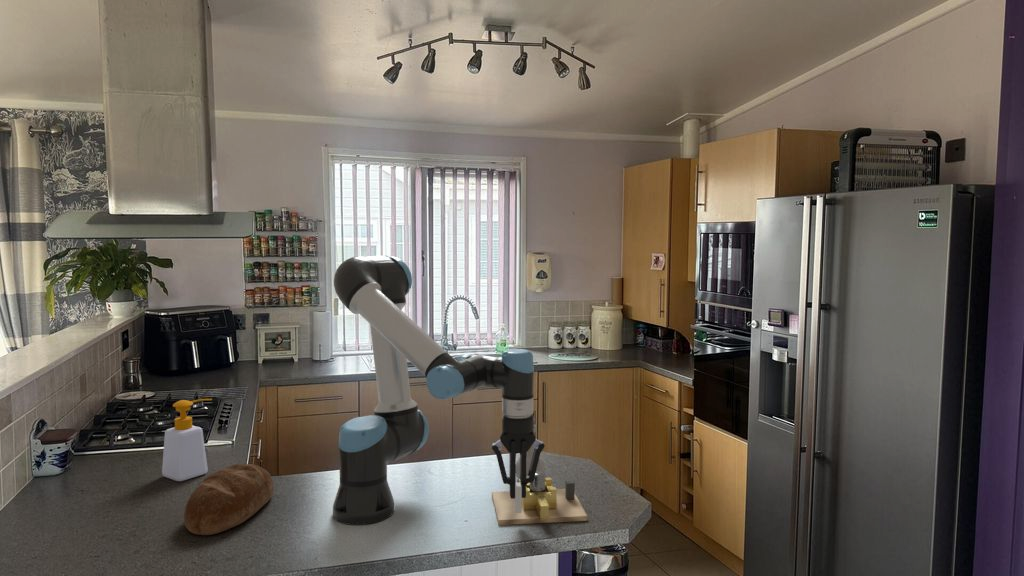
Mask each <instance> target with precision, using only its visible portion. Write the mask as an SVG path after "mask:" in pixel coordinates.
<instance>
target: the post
mask: <svg viewBox="0 0 1024 576" xmlns="http://www.w3.org/2000/svg"><path fill="white" fill-rule="evenodd" d="M545 478H546V472H545V473H544V472H542V471H536V473H535V477H534V481H533V482H532V483H530V493H537V492H545Z"/></svg>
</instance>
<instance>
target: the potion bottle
mask: <svg viewBox="0 0 1024 576" xmlns="http://www.w3.org/2000/svg"><path fill="white" fill-rule="evenodd" d="M535 418H536V417H535ZM535 418H534V422H535V421H536V419H535ZM536 431H537V425H536V424H534V434H535V433H536ZM534 449H535V448H534V443H533V445H532V446H531V447H530V449H529V450H528V451H527V458H526V476H528V472H529V468H530V464H531V460H532V456H533V452H534ZM536 471H542V472H544V473H545V474H546V466H545V462H544V459H543V458H542V457H541V455H540V457H539V461H538V465H537V469H536ZM517 478H518V480H517V481H518V482H519V479H520V455H519V456H518V457H517V459H516V479H517Z"/></svg>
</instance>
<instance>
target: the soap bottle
mask: <svg viewBox="0 0 1024 576" xmlns="http://www.w3.org/2000/svg"><path fill="white" fill-rule="evenodd" d="M212 400H213V398H199V399H195V400H189V399H188V400H186V399H180V400H178V401H176V402H174V403H173V404H172V407H173V408H175V411H176V412H179V414H180V415H179V417H176V418H174V427H171V428H167V429H166V430H165V431H164V438H163V439H164V440H163V441H164V442H163V453H162V467H161V474H162V476H163V478H164V477H165V478H167V479H170V480H172V481H176V482H185V481H186V480H190V479H192V478H196V477H199V476H202V475H205V474H206V473H208V471H209V468H208V461H207V454H206V446H205V440H204V431H203V428H202V427H200V426H198V425H197V426H195V425H193V417H192V416H187V411H190V410H191V406H193V405H194V403H197V402H202V401H212Z"/></svg>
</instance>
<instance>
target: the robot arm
mask: <svg viewBox="0 0 1024 576" xmlns="http://www.w3.org/2000/svg"><path fill="white" fill-rule="evenodd" d="M333 286H334V292H335V294H336V296H337V297H338V299H339V301H340V302H341V303H342V304H343V305H344V307H345V308H346V309H348V311H350V313H352V314H353V315H360V316H361V317H362V318H363V319H364V320H365V321H366V322H367V323H368V324H369V328H370V335H371V343H372V344H371V345H372V346H371V347H372V353H373V354H372V355H373V361H374V369H375V370H374V371H375V379H376V380H375V381H376V387H377V388H376V389H377V397H378V403H377V405H376V406H375V407H374V409H373V413H374V414H368V415H363V416H357V417H354V418H352V419H349V420H347V421H346V422H344V423H343V424H342V425H341V427H340V429H339V433H338V434H339V437H338V444H337V445H338V452H339V453H338V456H339V457H338V459H339V460H338V462H339V463H338V464H339V485H338V489H337V492H336V495H335V498H334V501H333V504H332V517H333V519H335V520H336V521H337V522H339V523H342V524H346V525H358V526H359V525H369V524H374V523H378V522H380V521H384V520H386V519H388V518H389V517H391V516H392V515H393V514H394V512H395V499H394V497H393V493H392V491H391V488H390V485H389V482H388V464H390V463H392V462H395V461H397V460H399V459H401V458H404V457H407V456H410V455H413V454H414V453H415V452H417V451H419V450H420V449H421V448H422V447H423V446H424V445H425V444H426V442H427V440H428V438H429V433H430V432H429V431H430V429H429V428H430V426H429V422H428V419H427V417H426V415H424V413H423V412H422V410H421V409H419V407H418V403H417V402H416V401H415V400H414V399H413V398H412V397H411V396H412V393H411V387H410V386H411V385H410V377H409V369H408V368H409V367H408V362H409V363H410V364H412V365H413V366H414V367H415V368H416V369H417V370H418V371H419V372H420V373H421V374H422V375H423V376H424V377H425V378H426V379H425V383H426V384H425V386H426V388H427V390H428V392H429V394H430V395H431V396H432V397H433V398H435V399H438V400H448V399H453V398H456V397H458V396H460V395H462V394H463V395H464V394H465V393H468V392H471V391H474V390H477V389H480V388H483V387H487V388H494V389H495V388H496V389H501V393H502V394H501V413H502V414H503V415H502V416H501V423H502V424H501V426H502V427H501V430H502V431H501V434H500V437H499V439H498V440H496V442H495V441H494V442H491V449H492V451H493V452H494V454H495V455H496V459H497V463H498V467H499V471H500V475H501V478H502V482H503V484H505V485H509V491H510V497H511V499H514V510H515V513H522V498H525V497H526V485H527V484H528V483H532V482H533V481H534V477H535V473H536V469H537V465H538V461H539V457H540V456H541V453H542V451H543V450H545V449H544V448H545V446H546V445H545V444H544V441H542V440H539V439H537V438H536V436H535V435H536V434H535V433H534V425H535V421H534V415H533V413H534V412H535V411H534V372H535V366H534V356H533V353H532V351H531V350H529V349H523V348H511V349H510V348H509V349H505V350H503V352H502V353H501V356H495V355H494V356H493V355H486V354H485V355H484V354H479V353H473V354H472V353H466V354H463V355H462V356H460V357H461V358H459V359H458V360H457V359H455V358H454V357H453V356H452V355H451V354H449V353H448V352H447V351H446V350H445V349H444V348H443V347H442V346H440V344H439V343H437V342H436V341H435V340H434V339H433V338H432V337H431V335H429V334H428V333H426V331H424V330H423V329H422V328H421V326H419V325H418V324H417V323H416V322H415V321H413V320H412V319H411V318H410V316H408V315H407V314H406V313H405V312H404V311H402V310H403V308H404V307H406V304H407V300H406V295H408V294H409V293H410V289H412V286H413V277H412V273H411V270H410V268H409V266H408V264H407V263H405V262H404V260H402V259H400V258H399V257H397V256H391V255H371V256H353V257H350V258H348V259H345V260H344V261H343V262H341V263H340V265H339V266H338V267H337V269H336V271H335V273H334V277H333ZM533 443H534V452H533V456H532V460H531V464H530V468H529V472H528V476H526V458H527V451H528V450H529V449H530V447H531V446H532V445H533ZM502 446H504V448H505V449H506V450H507V452H508V453H509V455H508V456H509V476H507V471H506V467H505V463H504V459H503V455H502V452H501V451H502V450H503V447H502ZM517 454H519V456H520V482H519V481H518V482H516V481H517V480H516V479H517V477H516V461H517V459H516V458H517Z"/></svg>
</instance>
